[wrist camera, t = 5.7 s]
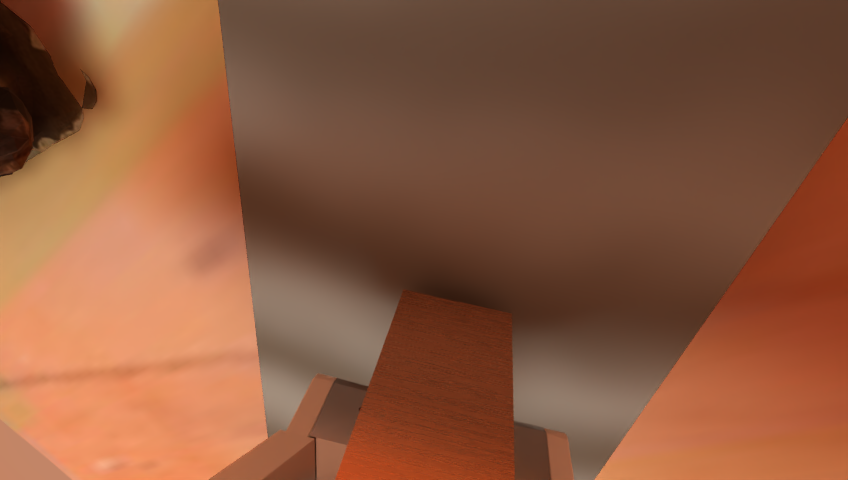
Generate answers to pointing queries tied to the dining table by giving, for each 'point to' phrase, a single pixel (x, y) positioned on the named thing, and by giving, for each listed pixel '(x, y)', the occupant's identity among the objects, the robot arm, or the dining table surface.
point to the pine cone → (32, 96)
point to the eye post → (519, 179)
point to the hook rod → (437, 397)
